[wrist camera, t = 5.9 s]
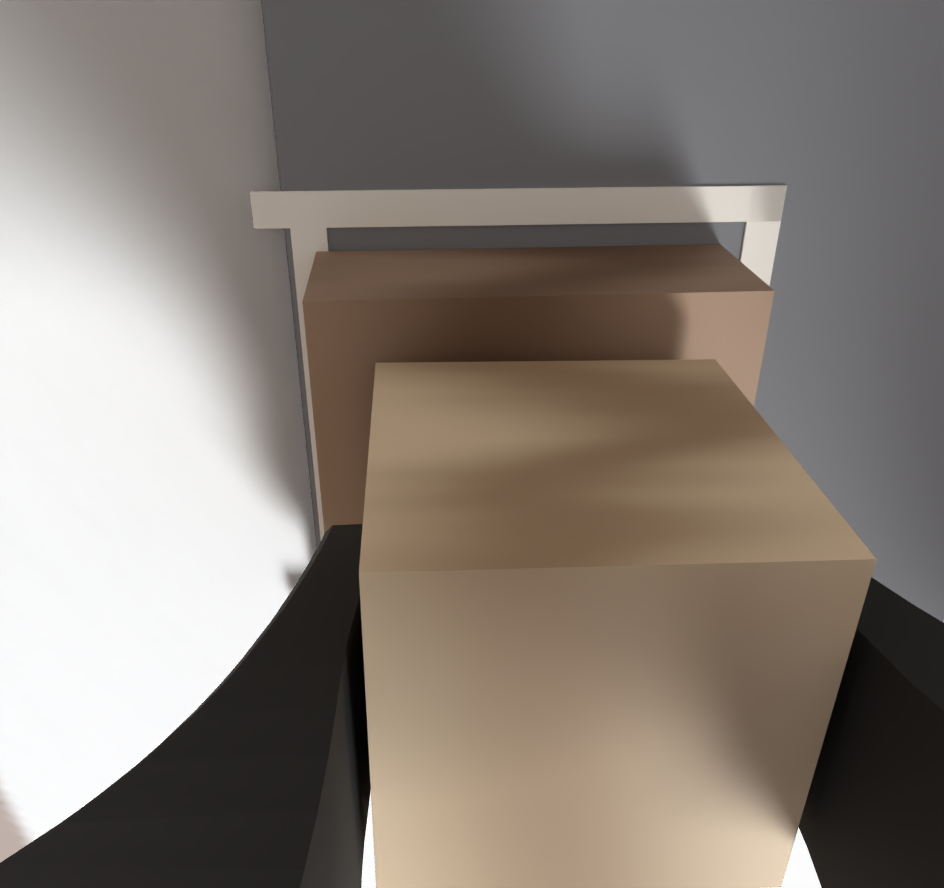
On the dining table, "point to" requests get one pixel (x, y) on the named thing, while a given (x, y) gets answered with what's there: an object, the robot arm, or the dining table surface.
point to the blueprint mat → (661, 190)
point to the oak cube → (593, 627)
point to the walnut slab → (511, 325)
